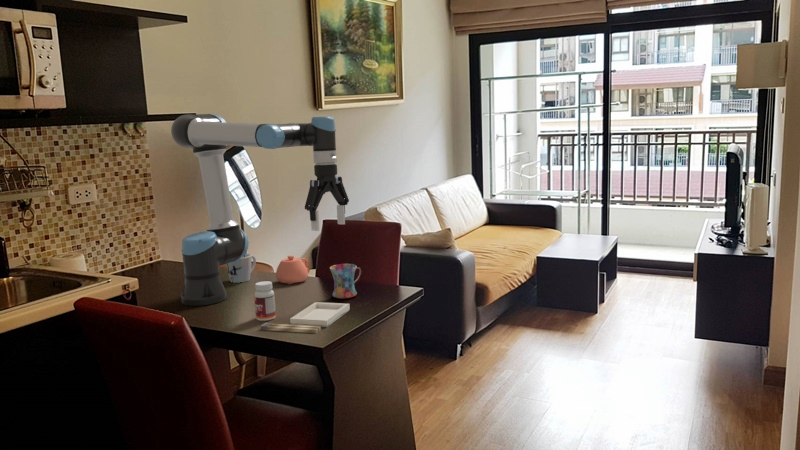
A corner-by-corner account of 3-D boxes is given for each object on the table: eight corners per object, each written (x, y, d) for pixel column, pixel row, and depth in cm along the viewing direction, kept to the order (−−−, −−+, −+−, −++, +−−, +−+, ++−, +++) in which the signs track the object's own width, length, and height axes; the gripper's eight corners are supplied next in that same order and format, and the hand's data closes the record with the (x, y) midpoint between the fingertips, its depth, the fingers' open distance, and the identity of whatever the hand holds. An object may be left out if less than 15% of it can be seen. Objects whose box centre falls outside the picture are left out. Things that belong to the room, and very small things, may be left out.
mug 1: (220, 282, 252) (218, 257, 251) (247, 274, 265) (245, 250, 264) (241, 285, 247) (238, 259, 246) (266, 276, 260) (264, 251, 259)
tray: (290, 325, 194) (290, 318, 194) (315, 308, 211) (315, 302, 211) (327, 327, 191) (327, 320, 191) (349, 309, 208) (349, 303, 208)
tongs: (260, 329, 191) (260, 325, 191) (265, 326, 194) (265, 322, 194) (316, 333, 186) (316, 329, 186) (320, 329, 189) (320, 325, 189)
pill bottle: (252, 319, 202) (249, 284, 200) (267, 314, 207) (265, 279, 205) (264, 322, 198) (261, 286, 196) (280, 317, 203) (277, 282, 201)
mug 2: (341, 301, 218) (339, 271, 216) (326, 296, 225) (324, 267, 223) (369, 294, 225) (368, 264, 224) (354, 290, 232) (352, 261, 231)
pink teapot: (270, 282, 250) (268, 256, 248) (301, 275, 259) (299, 250, 257) (286, 287, 241) (284, 260, 239) (318, 280, 249) (316, 254, 248)
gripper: (309, 166, 201) (312, 234, 205) (357, 161, 222) (360, 222, 225) (291, 166, 205) (295, 232, 209) (340, 161, 226) (343, 221, 229)
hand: (328, 227), depth 217 cm, fingers open, 13 cm apart
